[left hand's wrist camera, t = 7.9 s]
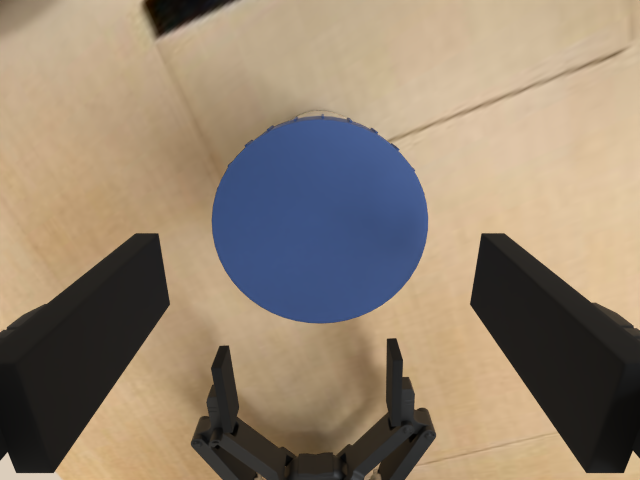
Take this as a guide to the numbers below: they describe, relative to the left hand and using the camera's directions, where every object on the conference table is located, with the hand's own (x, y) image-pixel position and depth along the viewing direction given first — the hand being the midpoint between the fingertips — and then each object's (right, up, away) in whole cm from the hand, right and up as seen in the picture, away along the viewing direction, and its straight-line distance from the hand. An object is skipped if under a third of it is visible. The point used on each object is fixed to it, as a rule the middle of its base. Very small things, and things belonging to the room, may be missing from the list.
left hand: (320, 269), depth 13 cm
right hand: (-1, -8, +17) cm, 19 cm away
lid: (0, +2, +4) cm, 4 cm away
